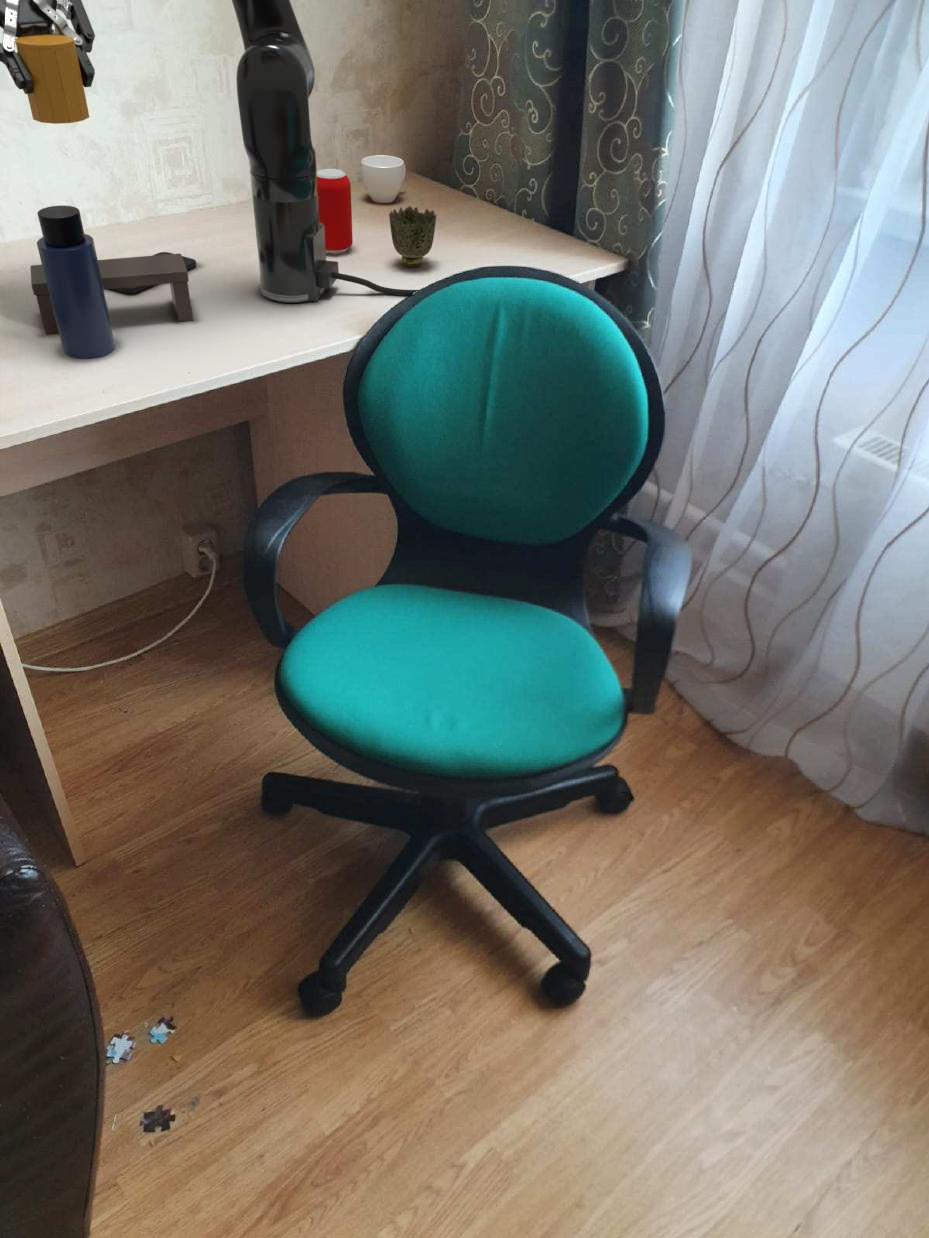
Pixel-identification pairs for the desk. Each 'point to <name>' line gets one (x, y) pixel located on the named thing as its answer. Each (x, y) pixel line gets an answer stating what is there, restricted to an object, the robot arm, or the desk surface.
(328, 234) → the beverage can
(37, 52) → the cap
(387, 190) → the cup
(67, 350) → the flask
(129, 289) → the phone
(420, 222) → the cup
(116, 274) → the small brown bench
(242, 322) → the desk surface
